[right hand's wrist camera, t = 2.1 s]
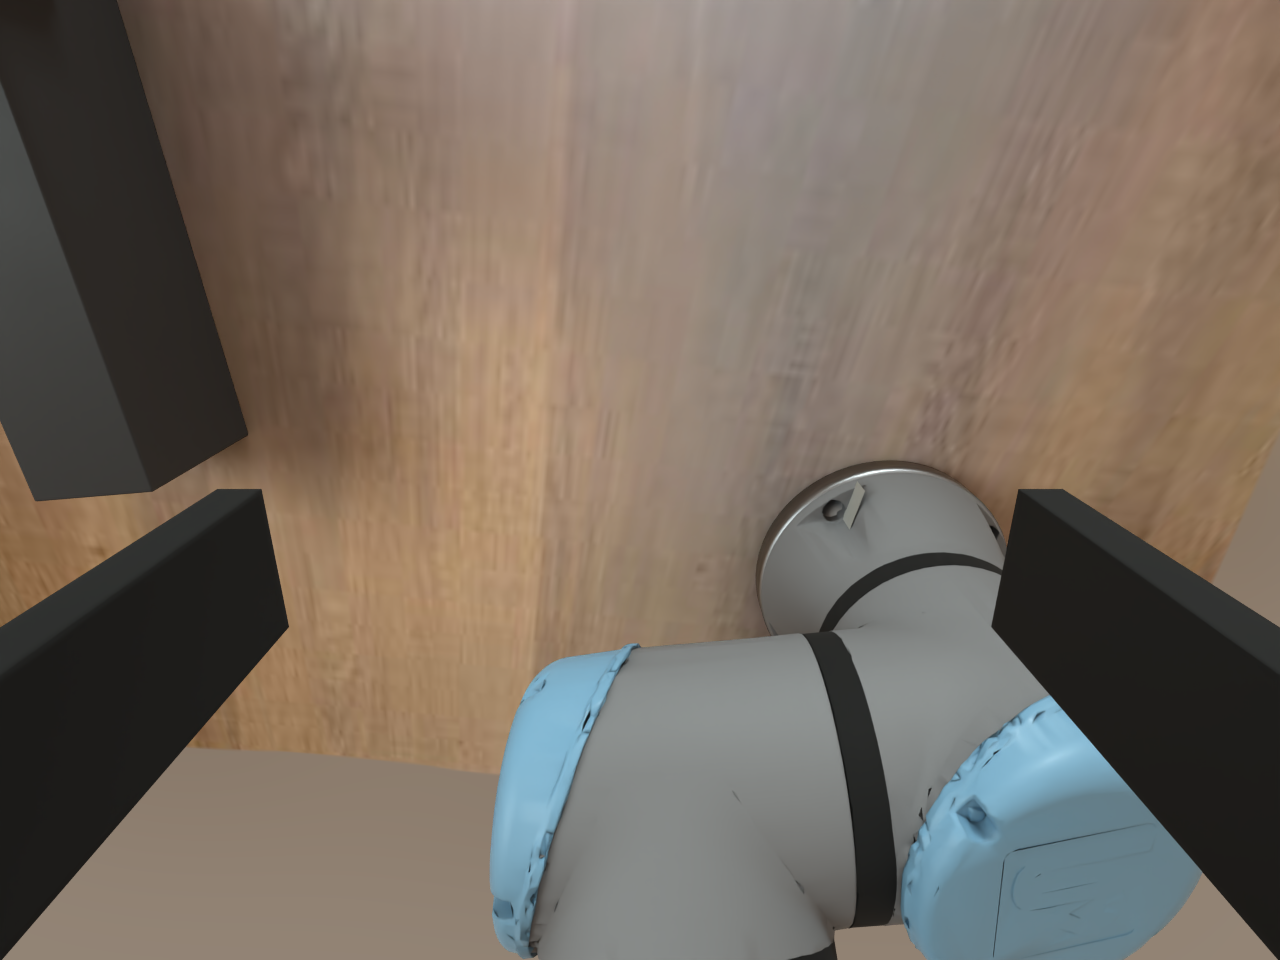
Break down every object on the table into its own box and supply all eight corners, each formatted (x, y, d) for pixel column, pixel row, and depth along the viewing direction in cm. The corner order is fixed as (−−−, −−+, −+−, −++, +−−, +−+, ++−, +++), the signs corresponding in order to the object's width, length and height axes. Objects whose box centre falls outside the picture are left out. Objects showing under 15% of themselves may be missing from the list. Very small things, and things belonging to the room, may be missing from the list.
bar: (249, 434, 42) (152, 492, 34) (153, 443, 42) (34, 502, 34) (88, -96, 33) (-101, -198, 24) (-34, -82, 33) (-263, -180, 24)
